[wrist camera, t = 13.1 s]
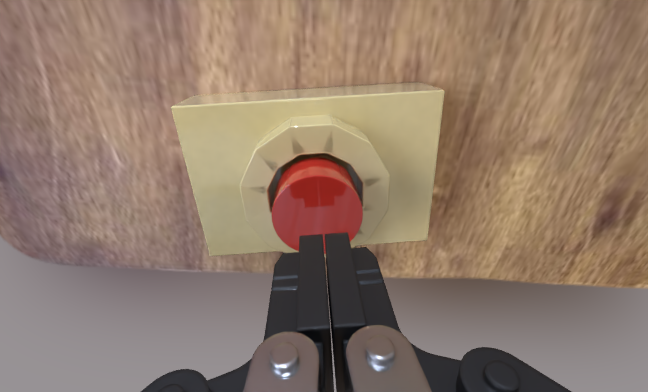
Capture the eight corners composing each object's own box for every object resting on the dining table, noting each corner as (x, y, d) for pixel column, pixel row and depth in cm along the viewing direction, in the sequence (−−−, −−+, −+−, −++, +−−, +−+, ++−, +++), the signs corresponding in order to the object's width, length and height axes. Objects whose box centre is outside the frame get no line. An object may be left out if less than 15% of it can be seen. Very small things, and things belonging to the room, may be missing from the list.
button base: (223, 225, 20) (199, 279, 15) (193, 95, 16) (151, 115, 12) (410, 212, 20) (440, 261, 16) (421, 81, 17) (464, 96, 12)
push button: (280, 231, 15) (276, 258, 13) (270, 159, 13) (265, 178, 11) (355, 225, 15) (363, 251, 13) (355, 154, 13) (363, 172, 12)
